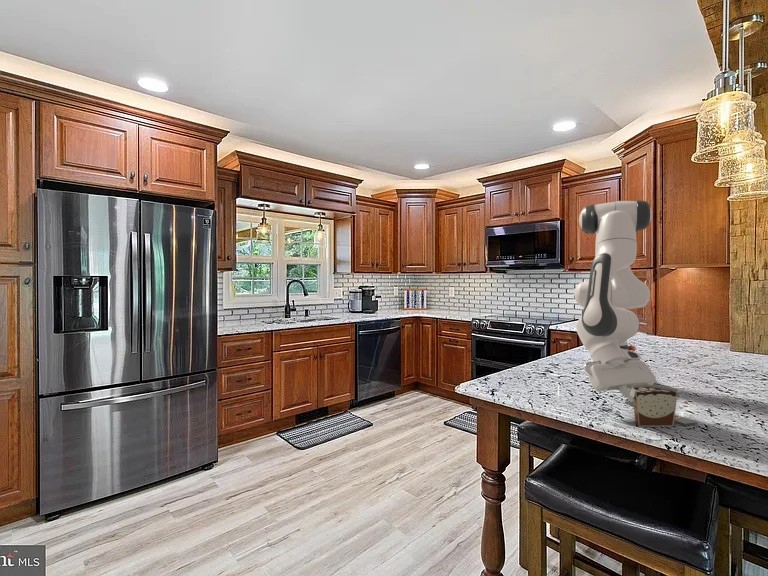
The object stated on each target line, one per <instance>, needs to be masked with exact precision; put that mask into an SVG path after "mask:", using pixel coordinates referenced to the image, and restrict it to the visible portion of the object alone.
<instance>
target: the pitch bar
mask: <svg viewBox="0 0 768 576" xmlns="http://www.w3.org/2000/svg"><path fill="white" fill-rule="evenodd" d="M625 403H626V404H625ZM624 404H625V405H628V404H629V406H631V407H633V406H634V402H630V401H629V400H625V401H624ZM674 423H675V424H678V423H679V425H680V426H684V427H686V426H696V425H695V424H697V425H698V422H697V421H695V420H692V419H689V418H686V417H684V416H681V415H678V414H676V413H675V417H674Z"/></svg>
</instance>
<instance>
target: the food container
mask: <svg viewBox="0 0 768 576" xmlns="http://www.w3.org/2000/svg"><path fill="white" fill-rule="evenodd" d="M629 392H630V395H631V396H632V397H633V402H634V407H633V411H634V412H633V413H634V422H635V425H636V426H637V427H646V428H647V427H674V424H675V422H674V417H675V414H676V409H677V399H678V398H680V393H679V391H678V389H677V388H674V387H669V386H665V385H660V384H659V385H658V384H653V385H649V384H639V385H634V386H633V387H632V389H631V391H629Z"/></svg>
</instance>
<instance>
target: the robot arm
mask: <svg viewBox="0 0 768 576" xmlns="http://www.w3.org/2000/svg"><path fill="white" fill-rule="evenodd" d="M652 219H653V210H652V208H651V206H650V203H649V202H647V200H639V199H635V200H617V201H612V202H603V203H597V204H594V203H593V204H588V205H585V206H584V207H583V208H582V210H581V212H580V214H579V217H578V224H579V227H580V229H581V231H582V232H584V234H586V235H587V234H589V235H594V234H596V236H595V247H594V248H595V252H594V254H595V255H594V256H595V257H594V258H593V261H592V263H591V266H590V270H589V271H590V272H589V279H588V280H587V281H586V280H585V281H582V282H579V283H578V284H577V286H576V287H575V289H574V292H573V294H574V295H573V296H574V299H575V301H576V303H577V305H579V306H580V307H581V308H583V309H582V310H583V311H582V314H581V317H580V318H579V319H578V320H577V322H576V325H575V326H576V327H575V328H576V329H575V330H576V333H577V335H578V337H579V339H580V341H581V343H582V345H583V346H584V348H585V349H586V350H587V351H588V352H589V354H590V359H591V360H592V361H586V363H584V366H583V367H584V370H585V371H586V373H587V377H588V380H589V382H590V385H592V388H593V389H594V390H595V391H596V392H604V391H605V392H608V391H616V390H617V391H619V393H620V394H621V395H623V396H625V397H626V398H627V401H630V402H633V397H632V396H631V395H630V392H631V389H632V387H633V386H634V385H639V384H649V385H655V383H656V382H657V381H656V376H655V375H654V373H653V371H652V370H651V368H650V367H649V366H648V364H646V362H644V361H643V360H641V359H642V356H641V355H640V353H638V352H636V350H637V347H636V345H632V344H631V345H628V344H627V342H628V339H631V338H633V337H634V336H636V334H637V333H638V332H639V330H640V319H639V316H638V315H637V314H636V313H635V312H634V311H633V310H634V309H641V308H644V307H645V306H647V304H648V303H649V302H650V299H651V290H650V288H649V286H648V285H647V284H646V283H645V282H643V281H642V280H640V279H639V278H638V277H636V275H635V274H634V273H633V270H632V268H631V265H632V264H634V263H635V261H636V258H637V253H638V252H637V251H638V246H637V245H638V242H637V240H638V239H637V232H640V231H643V230H646V229H647V228H648V227H649V226H650V223H651V221H652ZM628 389H629V390H628Z"/></svg>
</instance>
